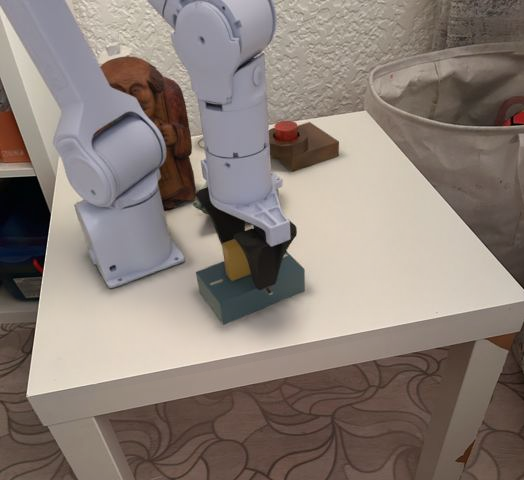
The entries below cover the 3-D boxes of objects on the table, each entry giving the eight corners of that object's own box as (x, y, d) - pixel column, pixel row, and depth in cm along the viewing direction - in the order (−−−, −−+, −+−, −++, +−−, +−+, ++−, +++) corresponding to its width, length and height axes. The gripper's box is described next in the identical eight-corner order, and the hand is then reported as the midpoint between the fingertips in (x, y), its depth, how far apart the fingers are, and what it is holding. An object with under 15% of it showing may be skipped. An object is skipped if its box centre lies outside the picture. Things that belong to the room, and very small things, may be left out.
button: (282, 145, 76) (281, 132, 74) (270, 136, 78) (270, 124, 76) (301, 138, 77) (301, 126, 75) (290, 130, 79) (289, 118, 77)
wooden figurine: (117, 222, 72) (73, 78, 58) (111, 198, 76) (69, 59, 63) (204, 202, 73) (181, 59, 60) (193, 180, 78) (170, 41, 65)
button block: (279, 176, 77) (278, 149, 74) (252, 153, 82) (250, 127, 79) (338, 156, 80) (340, 129, 77) (309, 135, 85) (309, 109, 82)
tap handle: (231, 281, 57) (227, 248, 54) (225, 274, 58) (221, 241, 55) (273, 265, 58) (271, 231, 55) (267, 258, 59) (264, 225, 56)
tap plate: (229, 334, 56) (226, 311, 54) (193, 285, 62) (189, 262, 59) (312, 298, 59) (312, 275, 56) (271, 255, 65) (269, 233, 62)
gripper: (320, 162, 44) (318, 290, 54) (239, 103, 53) (250, 222, 63) (243, 189, 42) (256, 316, 52) (173, 122, 51) (195, 242, 61)
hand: (249, 266), depth 58 cm, fingers open, 7 cm apart
